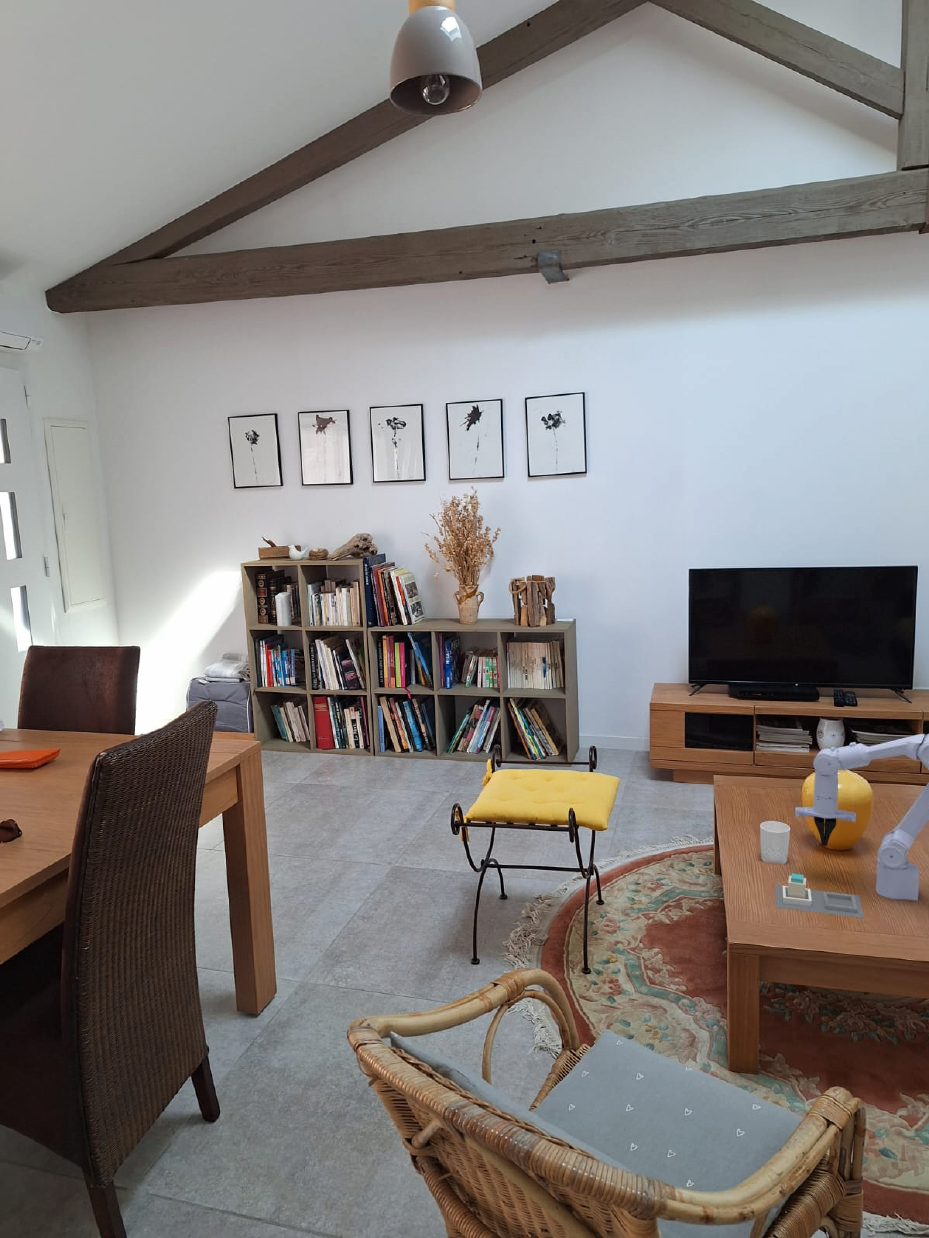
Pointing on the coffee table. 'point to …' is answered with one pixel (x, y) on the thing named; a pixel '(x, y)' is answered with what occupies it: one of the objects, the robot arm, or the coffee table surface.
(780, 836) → the white cup
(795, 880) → the plug
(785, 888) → the port
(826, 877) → the coffee table surface
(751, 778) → the coffee table surface
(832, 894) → the frame
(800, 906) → the panel plate
